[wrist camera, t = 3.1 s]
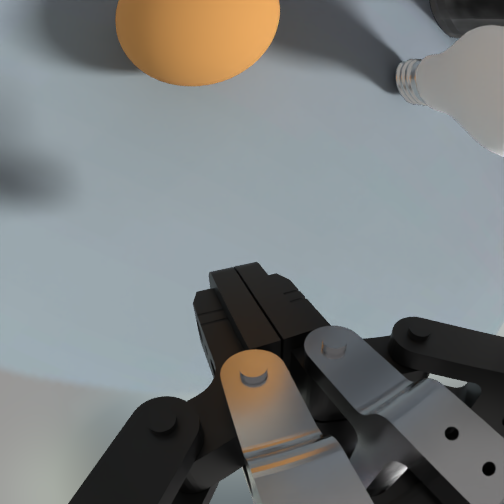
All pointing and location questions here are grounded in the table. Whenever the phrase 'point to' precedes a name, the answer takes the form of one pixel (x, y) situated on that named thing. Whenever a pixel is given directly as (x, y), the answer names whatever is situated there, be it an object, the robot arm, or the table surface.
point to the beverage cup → (467, 15)
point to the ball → (195, 37)
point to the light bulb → (463, 84)
